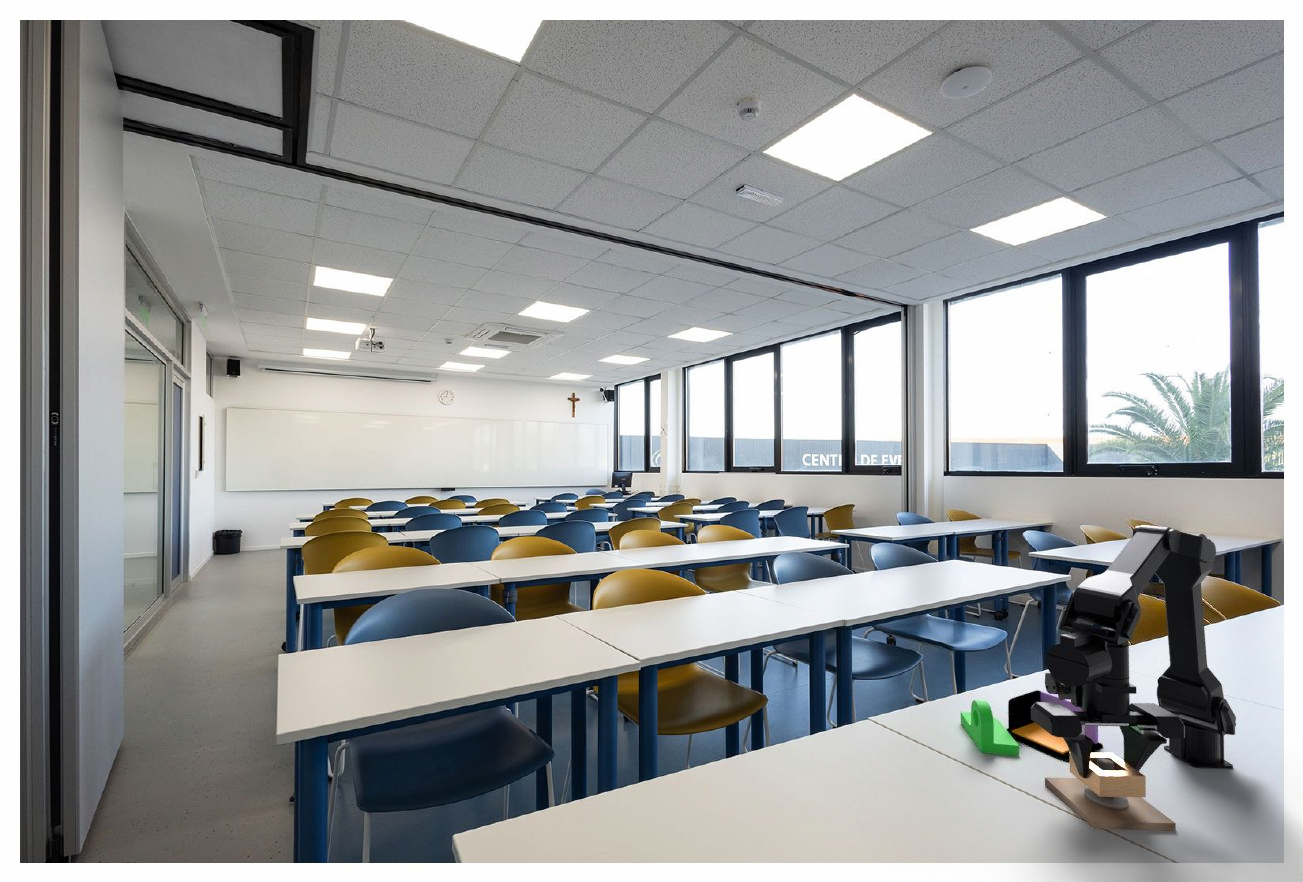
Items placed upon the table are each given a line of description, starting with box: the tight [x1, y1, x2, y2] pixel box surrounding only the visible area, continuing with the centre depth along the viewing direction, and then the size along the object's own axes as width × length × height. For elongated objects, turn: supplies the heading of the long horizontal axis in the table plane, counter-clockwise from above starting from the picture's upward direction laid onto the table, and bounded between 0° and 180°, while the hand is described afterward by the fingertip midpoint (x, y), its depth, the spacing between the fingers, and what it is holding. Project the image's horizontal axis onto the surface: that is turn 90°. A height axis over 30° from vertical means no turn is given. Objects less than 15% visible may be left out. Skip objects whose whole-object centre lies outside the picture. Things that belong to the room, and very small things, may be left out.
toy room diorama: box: [1005, 689, 1104, 763], centre depth 108 cm, size 12×12×7 cm
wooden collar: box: [1069, 752, 1147, 798], centre depth 88 cm, size 6×6×3 cm
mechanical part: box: [960, 699, 1020, 757], centre depth 109 cm, size 12×6×8 cm, turn 168°
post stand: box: [1044, 758, 1177, 831], centre depth 88 cm, size 11×11×7 cm
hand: (1106, 777), depth 88 cm, fingers closed on wooden collar, 6 cm apart
